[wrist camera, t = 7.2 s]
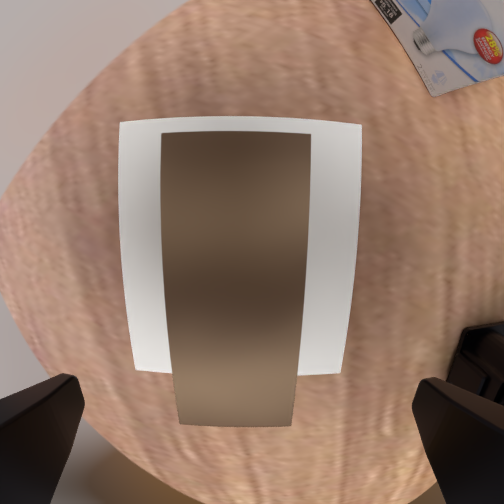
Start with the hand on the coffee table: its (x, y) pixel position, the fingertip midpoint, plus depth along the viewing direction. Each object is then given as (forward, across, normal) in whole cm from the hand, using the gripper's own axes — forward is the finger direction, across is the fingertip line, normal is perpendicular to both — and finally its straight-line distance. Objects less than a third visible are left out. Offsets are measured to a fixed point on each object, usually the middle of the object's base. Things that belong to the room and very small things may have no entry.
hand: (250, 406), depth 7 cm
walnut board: (+9, 0, -1) cm, 9 cm away
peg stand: (+12, +1, -1) cm, 12 cm away
